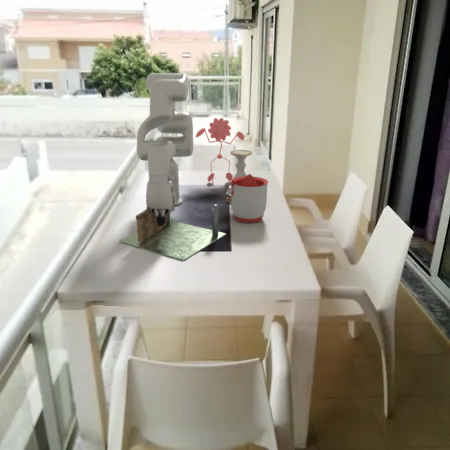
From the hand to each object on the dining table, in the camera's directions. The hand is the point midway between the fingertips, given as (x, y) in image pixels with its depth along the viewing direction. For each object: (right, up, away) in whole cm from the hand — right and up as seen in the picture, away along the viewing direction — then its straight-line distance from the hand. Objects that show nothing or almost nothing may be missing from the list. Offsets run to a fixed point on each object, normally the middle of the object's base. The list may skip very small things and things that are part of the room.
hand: (161, 225), depth 167 cm
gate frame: (+5, -5, +1) cm, 7 cm away
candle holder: (+32, +12, +46) cm, 57 cm away
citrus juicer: (+34, +2, +22) cm, 40 cm away
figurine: (+21, +24, +78) cm, 85 cm away
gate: (-4, -3, +4) cm, 6 cm away
